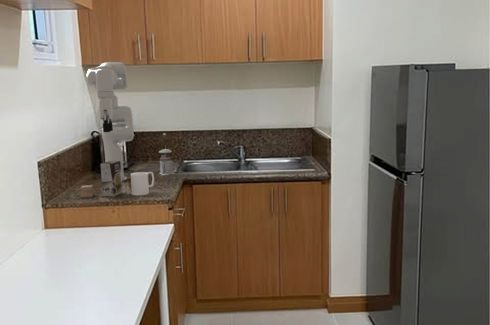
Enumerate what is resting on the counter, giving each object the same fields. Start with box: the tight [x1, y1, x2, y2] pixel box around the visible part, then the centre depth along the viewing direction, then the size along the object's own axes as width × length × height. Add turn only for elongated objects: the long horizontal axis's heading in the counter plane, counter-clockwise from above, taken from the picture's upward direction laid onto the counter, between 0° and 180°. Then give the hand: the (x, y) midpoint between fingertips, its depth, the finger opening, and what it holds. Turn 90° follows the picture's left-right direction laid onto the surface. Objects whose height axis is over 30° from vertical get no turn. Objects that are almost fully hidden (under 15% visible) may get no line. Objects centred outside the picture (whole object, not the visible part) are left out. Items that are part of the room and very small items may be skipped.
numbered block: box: [80, 184, 95, 199], centre depth 228 cm, size 5×5×5 cm
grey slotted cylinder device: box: [158, 132, 176, 176], centre depth 286 cm, size 10×12×25 cm
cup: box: [130, 171, 155, 196], centre depth 231 cm, size 8×12×10 cm
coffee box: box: [100, 161, 123, 197], centre depth 229 cm, size 9×6×16 cm
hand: (108, 131), depth 227 cm, fingers open, 9 cm apart
